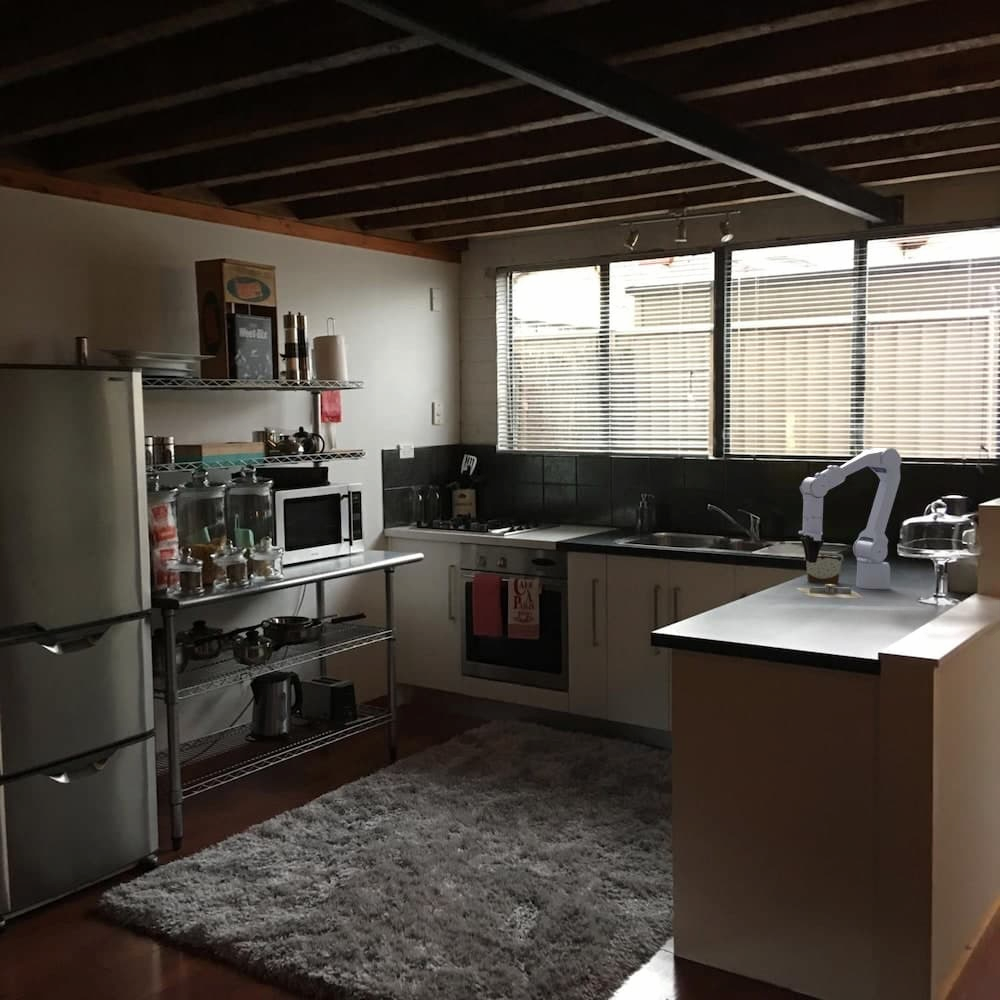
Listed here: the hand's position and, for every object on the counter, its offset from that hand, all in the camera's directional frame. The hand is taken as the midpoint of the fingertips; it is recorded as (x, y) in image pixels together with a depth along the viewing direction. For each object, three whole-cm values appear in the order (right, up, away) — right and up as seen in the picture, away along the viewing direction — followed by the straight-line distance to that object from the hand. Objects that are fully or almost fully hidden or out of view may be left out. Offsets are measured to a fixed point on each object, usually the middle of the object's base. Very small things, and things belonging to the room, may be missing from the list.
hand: (811, 561), depth 328 cm
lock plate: (+4, -10, -5) cm, 12 cm away
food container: (+8, -8, +17) cm, 21 cm away
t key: (+4, -9, -6) cm, 11 cm away
